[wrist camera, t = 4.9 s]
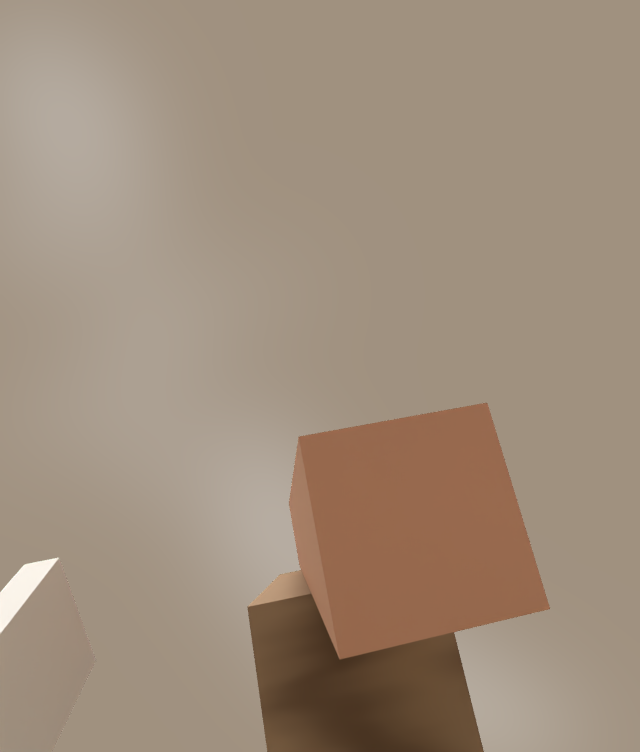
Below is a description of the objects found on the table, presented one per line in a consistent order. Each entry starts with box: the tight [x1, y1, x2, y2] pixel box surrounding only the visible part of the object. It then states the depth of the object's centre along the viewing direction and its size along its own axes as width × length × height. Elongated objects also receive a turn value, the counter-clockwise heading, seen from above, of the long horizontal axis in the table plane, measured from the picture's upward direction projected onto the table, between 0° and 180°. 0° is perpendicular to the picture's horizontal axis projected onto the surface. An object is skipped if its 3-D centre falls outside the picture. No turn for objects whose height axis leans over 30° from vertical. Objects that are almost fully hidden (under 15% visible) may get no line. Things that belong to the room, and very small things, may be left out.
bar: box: [289, 403, 550, 659], centre depth 21 cm, size 4×24×4 cm, turn 4°
